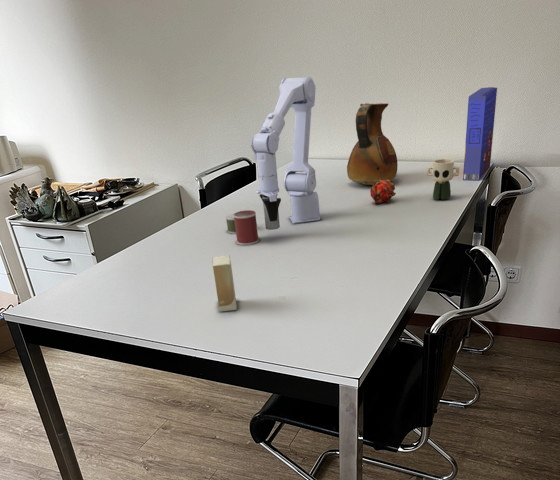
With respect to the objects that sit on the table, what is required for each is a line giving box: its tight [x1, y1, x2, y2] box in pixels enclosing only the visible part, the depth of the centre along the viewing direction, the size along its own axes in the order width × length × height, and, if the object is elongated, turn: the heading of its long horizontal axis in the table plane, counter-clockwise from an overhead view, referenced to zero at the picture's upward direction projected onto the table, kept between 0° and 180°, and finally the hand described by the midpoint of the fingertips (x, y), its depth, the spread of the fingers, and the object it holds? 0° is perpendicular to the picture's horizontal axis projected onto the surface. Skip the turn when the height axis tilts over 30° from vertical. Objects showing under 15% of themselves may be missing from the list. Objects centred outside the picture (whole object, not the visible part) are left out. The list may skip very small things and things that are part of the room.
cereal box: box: [462, 86, 498, 181], centre depth 229 cm, size 22×6×30 cm, turn 152°
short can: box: [225, 212, 236, 235], centre depth 199 cm, size 7×7×5 cm
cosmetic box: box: [211, 254, 238, 313], centre depth 145 cm, size 6×4×12 cm
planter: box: [262, 195, 281, 231], centre depth 186 cm, size 4×4×10 cm
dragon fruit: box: [369, 179, 396, 205], centre depth 212 cm, size 8×8×12 cm
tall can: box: [234, 209, 260, 246], centre depth 187 cm, size 7×7×9 cm
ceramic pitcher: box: [346, 102, 399, 186], centre depth 230 cm, size 20×20×30 cm
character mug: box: [426, 158, 460, 200], centre depth 208 cm, size 11×7×13 cm, turn 66°
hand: (272, 218), depth 187 cm, fingers closed on planter, 4 cm apart
